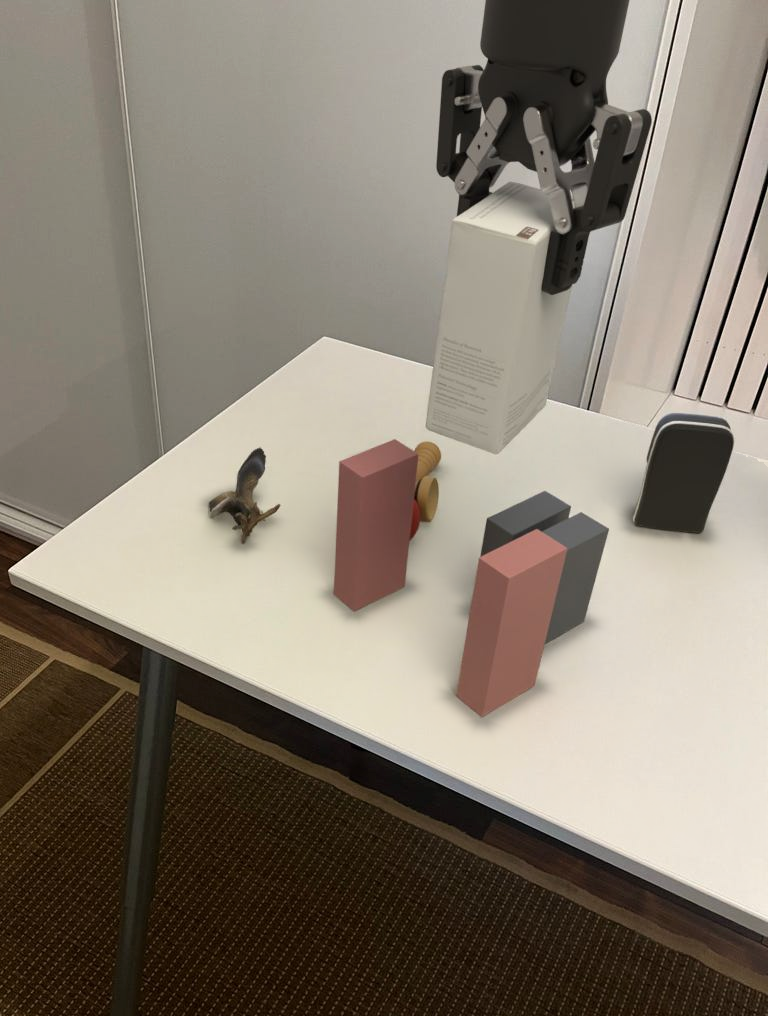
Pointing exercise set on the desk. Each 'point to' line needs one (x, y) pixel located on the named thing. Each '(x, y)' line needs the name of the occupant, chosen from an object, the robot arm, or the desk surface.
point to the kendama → (425, 485)
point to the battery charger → (683, 471)
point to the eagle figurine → (244, 496)
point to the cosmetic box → (496, 321)
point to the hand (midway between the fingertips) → (511, 271)
